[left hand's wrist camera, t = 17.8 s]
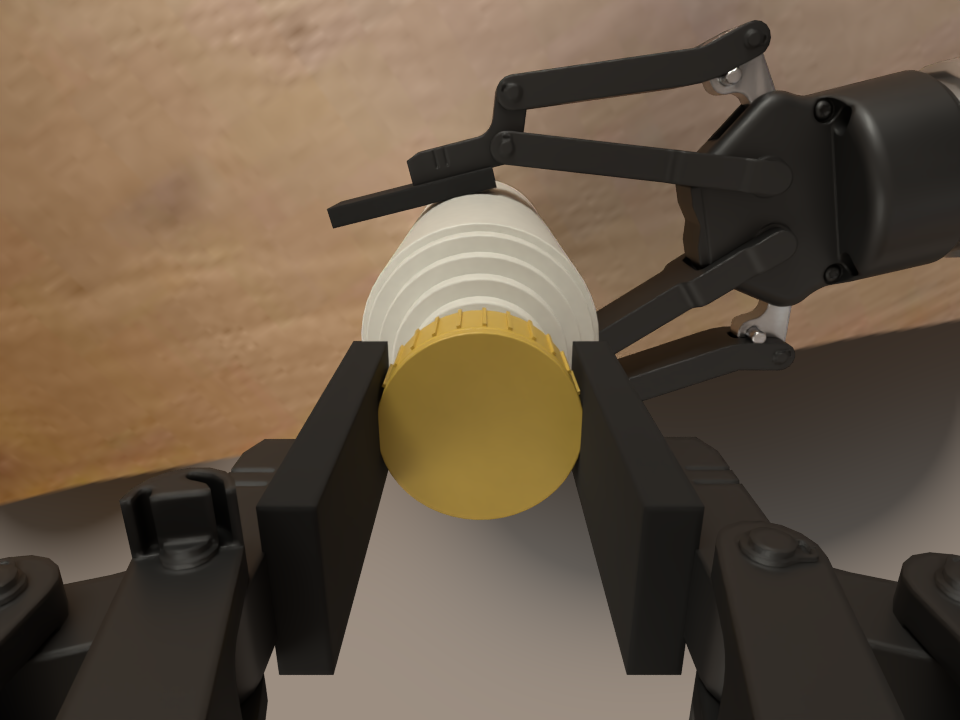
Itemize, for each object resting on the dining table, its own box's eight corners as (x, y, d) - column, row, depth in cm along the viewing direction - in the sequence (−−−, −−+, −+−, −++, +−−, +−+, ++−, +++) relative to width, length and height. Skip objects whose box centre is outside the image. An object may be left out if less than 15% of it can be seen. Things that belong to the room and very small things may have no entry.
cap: (396, 292, 14) (385, 313, 12) (594, 322, 14) (609, 348, 12) (374, 467, 15) (362, 507, 13) (554, 493, 15) (563, 535, 14)
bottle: (527, 322, 34) (589, 578, 15) (402, 294, 33) (298, 522, 14) (561, 196, 32) (687, 303, 12) (428, 164, 31) (345, 223, 12)
